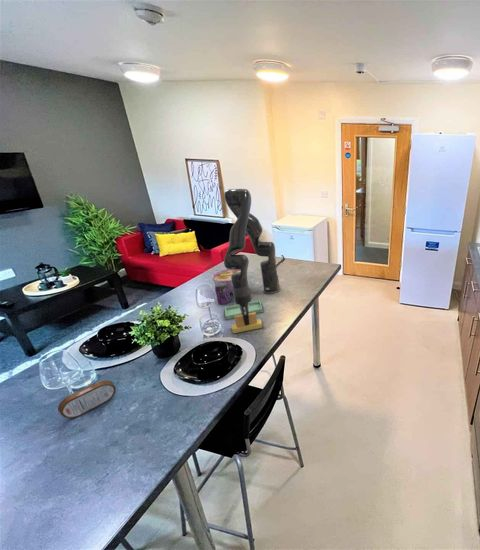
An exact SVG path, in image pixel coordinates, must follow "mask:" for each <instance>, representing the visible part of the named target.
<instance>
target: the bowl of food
mask: <svg viewBox="0 0 480 550" xmlns="http://www.w3.org/2000/svg"><path fill="white" fill-rule="evenodd" d="M237 272H240V269H227V268H224V269H221V270H218V271H216V272H214V273H213V274H212V275H211V279H212V282H213V283H214V285H215V284H216V283H219V282H226V283H227V285H228V289H229V294H233V286H232V280H231V276H232V274H234V273H237Z"/></svg>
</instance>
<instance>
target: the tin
mask: <svg viewBox="0 0 480 550" xmlns="http://www.w3.org/2000/svg"><path fill="white" fill-rule="evenodd" d="M116 392H117V388H116V385H115V383H113V382H112V381H111V380H108V379H107V380H100V381H97V382H94V383H93V384H90V385H88V386H86V387H84V388H81V389H80V390H78V391H76V392H73V393H71V394H68V395H66V397H64V398H63V399H62V400H61V401H60V402H59V404H58V406H57V411H58V413H59V414H60V416H62V417H63V418H66V419H72V418H73V419H75V418H77V417H80V416H82V415H84V414H86V413H87V412H90V411H91V410H94V409H95V408H97V407H99V406H101V405H103V404H105V403H107V402H109V401H110V400H111V399H112V398H113V397H114V396H115V394H116Z"/></svg>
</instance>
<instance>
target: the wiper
mask: <svg viewBox="0 0 480 550" xmlns="http://www.w3.org/2000/svg"><path fill="white" fill-rule="evenodd" d="M248 316H249V325H245V323H244V319H243V315H242V314H241V315H235V318H234V320H235V323H232V324H231V331H232V334H237V333H243V332H248V331H252V330H257V329H258V330H259V329H262V328H263V324H262V319H261V318H258V319H257V313H256V312H252V313H249V314H248Z"/></svg>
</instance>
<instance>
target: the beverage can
mask: <svg viewBox="0 0 480 550" xmlns="http://www.w3.org/2000/svg"><path fill="white" fill-rule="evenodd" d="M214 292H215V296H216V301H217V304H220V305H225V304H228V303H229V302H231V295H230V294H231V293H229V289H228V285H227V283H226V282H219V283H216V284H215V283H214Z"/></svg>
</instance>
